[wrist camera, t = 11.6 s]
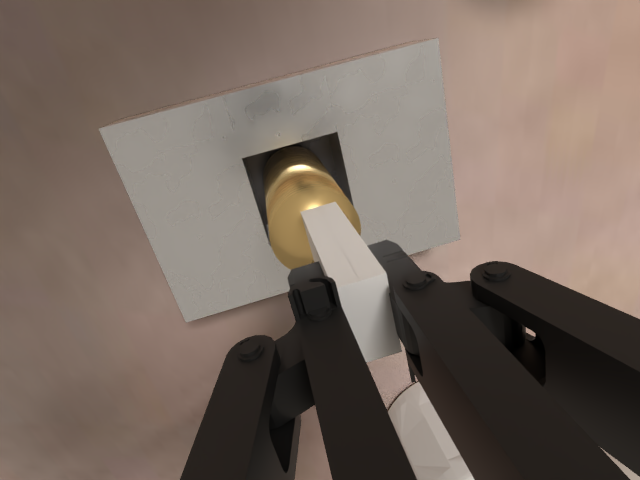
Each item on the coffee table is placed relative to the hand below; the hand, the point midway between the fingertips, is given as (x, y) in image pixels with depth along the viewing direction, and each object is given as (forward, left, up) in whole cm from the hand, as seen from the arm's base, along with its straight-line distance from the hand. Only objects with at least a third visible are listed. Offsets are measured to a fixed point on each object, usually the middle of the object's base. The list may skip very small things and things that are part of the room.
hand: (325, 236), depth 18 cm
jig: (0, 0, -11) cm, 11 cm away
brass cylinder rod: (0, 0, -11) cm, 11 cm away
